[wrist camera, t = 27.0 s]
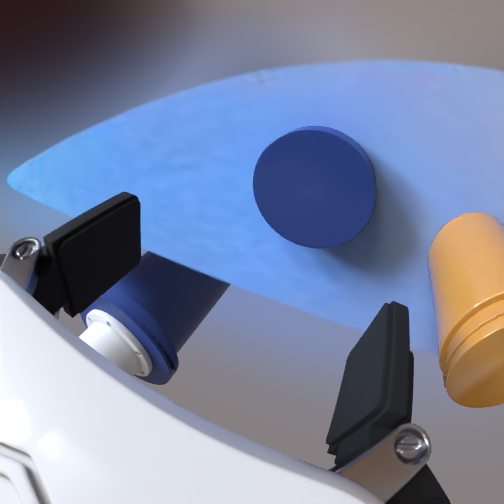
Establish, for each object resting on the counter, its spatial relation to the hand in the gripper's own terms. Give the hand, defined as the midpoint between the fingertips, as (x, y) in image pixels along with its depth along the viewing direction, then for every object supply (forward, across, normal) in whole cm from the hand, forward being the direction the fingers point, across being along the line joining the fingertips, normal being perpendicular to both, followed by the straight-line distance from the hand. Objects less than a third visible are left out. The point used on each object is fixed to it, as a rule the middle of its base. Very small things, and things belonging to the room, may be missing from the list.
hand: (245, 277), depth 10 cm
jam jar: (+9, -11, -1) cm, 14 cm away
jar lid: (+8, 0, -1) cm, 8 cm away
